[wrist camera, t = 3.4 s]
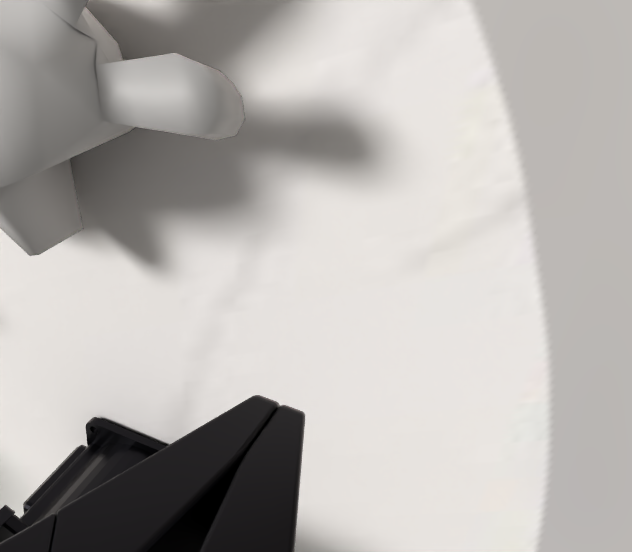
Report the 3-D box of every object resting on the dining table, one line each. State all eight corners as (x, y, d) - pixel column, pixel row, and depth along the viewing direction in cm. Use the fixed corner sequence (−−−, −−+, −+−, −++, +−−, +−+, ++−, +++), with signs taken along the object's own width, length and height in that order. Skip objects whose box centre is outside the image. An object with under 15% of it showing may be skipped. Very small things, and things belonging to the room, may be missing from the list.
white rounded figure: (-222, 66, 20) (-30, -245, 11) (-82, 39, 24) (143, -209, 15) (-52, 296, 23) (208, 191, 14) (50, 239, 27) (303, 127, 18)
